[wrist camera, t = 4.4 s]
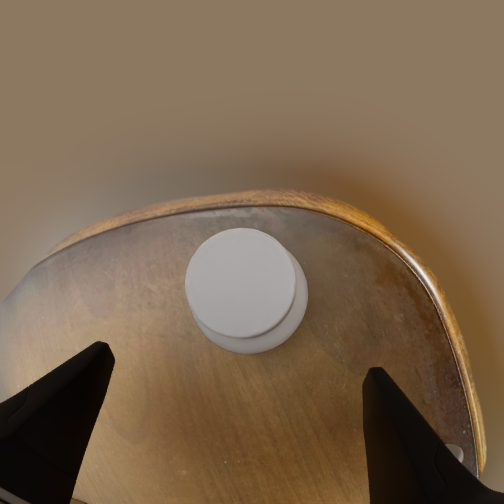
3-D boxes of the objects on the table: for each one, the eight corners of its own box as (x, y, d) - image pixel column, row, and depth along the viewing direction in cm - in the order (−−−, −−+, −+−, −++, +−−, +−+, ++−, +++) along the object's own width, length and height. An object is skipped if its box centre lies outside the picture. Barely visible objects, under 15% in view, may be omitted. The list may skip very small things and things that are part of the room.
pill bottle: (261, 255, 20) (249, 182, 11) (313, 311, 19) (350, 285, 9) (203, 304, 19) (140, 272, 10) (253, 364, 18) (230, 390, 9)
